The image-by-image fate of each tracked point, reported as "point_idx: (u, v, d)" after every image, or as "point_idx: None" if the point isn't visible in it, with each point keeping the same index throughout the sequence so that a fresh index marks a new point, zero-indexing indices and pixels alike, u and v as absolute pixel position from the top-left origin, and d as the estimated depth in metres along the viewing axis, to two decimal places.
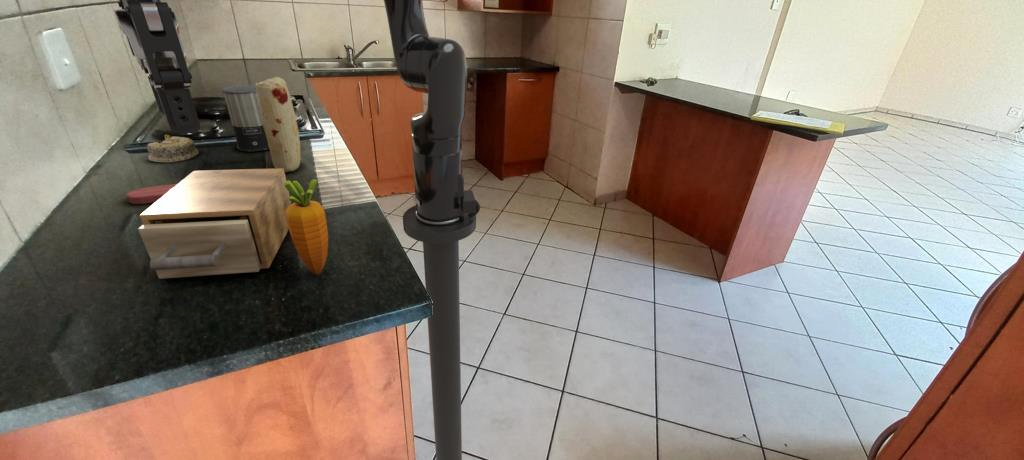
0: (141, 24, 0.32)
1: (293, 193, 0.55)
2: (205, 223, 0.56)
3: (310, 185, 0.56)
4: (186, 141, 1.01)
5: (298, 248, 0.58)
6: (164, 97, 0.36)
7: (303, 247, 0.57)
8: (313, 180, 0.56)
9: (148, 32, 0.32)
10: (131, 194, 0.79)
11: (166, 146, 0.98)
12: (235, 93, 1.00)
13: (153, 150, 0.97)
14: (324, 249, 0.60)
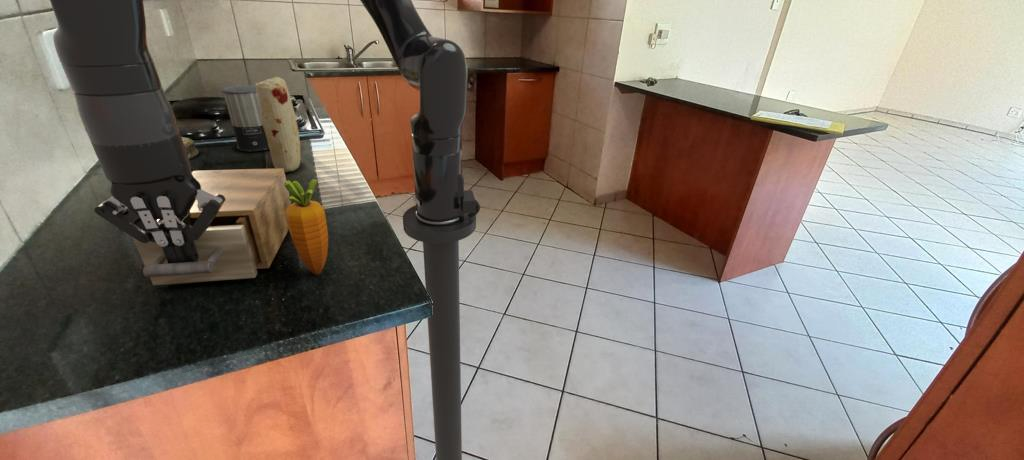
0: (214, 214, 0.51)
1: (293, 193, 0.55)
2: None
3: (309, 185, 0.56)
4: (186, 141, 1.01)
5: (298, 248, 0.58)
6: (182, 248, 0.52)
7: (303, 247, 0.57)
8: (313, 180, 0.56)
9: (213, 216, 0.51)
10: None
11: None
12: (235, 93, 1.00)
13: None
14: (324, 249, 0.60)
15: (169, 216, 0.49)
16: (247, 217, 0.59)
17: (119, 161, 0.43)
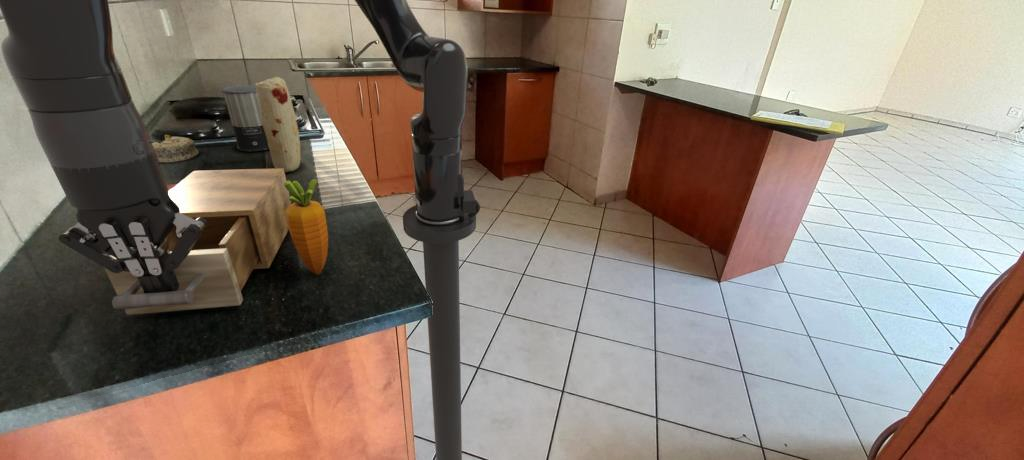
0: (195, 240, 0.46)
1: (293, 193, 0.55)
2: None
3: (309, 185, 0.56)
4: (186, 141, 1.01)
5: (298, 248, 0.58)
6: (160, 278, 0.47)
7: (303, 247, 0.57)
8: (313, 180, 0.56)
9: (193, 242, 0.46)
10: None
11: (166, 146, 0.98)
12: (235, 93, 1.00)
13: None
14: (324, 249, 0.60)
15: (144, 244, 0.44)
16: (231, 238, 0.54)
17: (83, 185, 0.38)
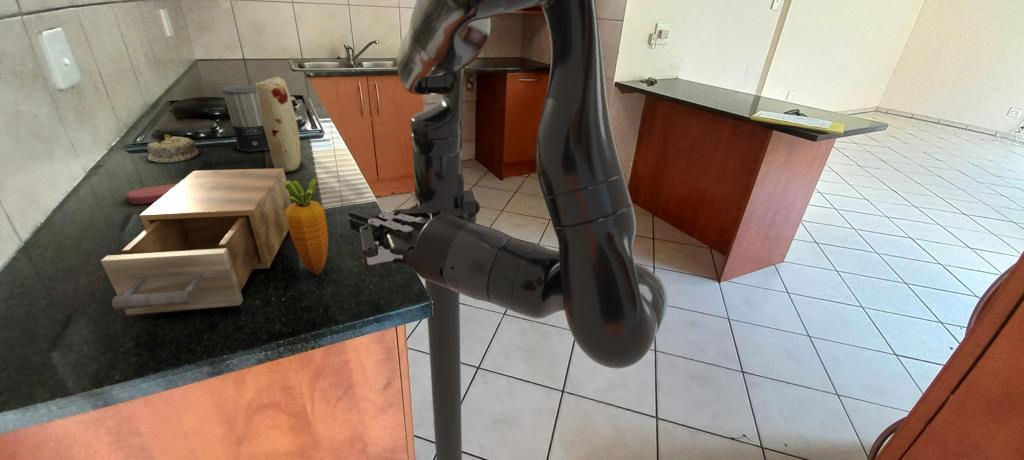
0: None
1: (293, 193, 0.55)
2: (178, 253, 0.50)
3: (309, 185, 0.56)
4: (186, 141, 1.01)
5: (298, 248, 0.58)
6: None
7: (303, 247, 0.57)
8: (313, 180, 0.56)
9: None
10: (131, 194, 0.79)
11: (166, 146, 0.98)
12: (235, 93, 1.00)
13: (153, 150, 0.97)
14: (324, 249, 0.60)
15: None
16: (231, 239, 0.54)
17: None
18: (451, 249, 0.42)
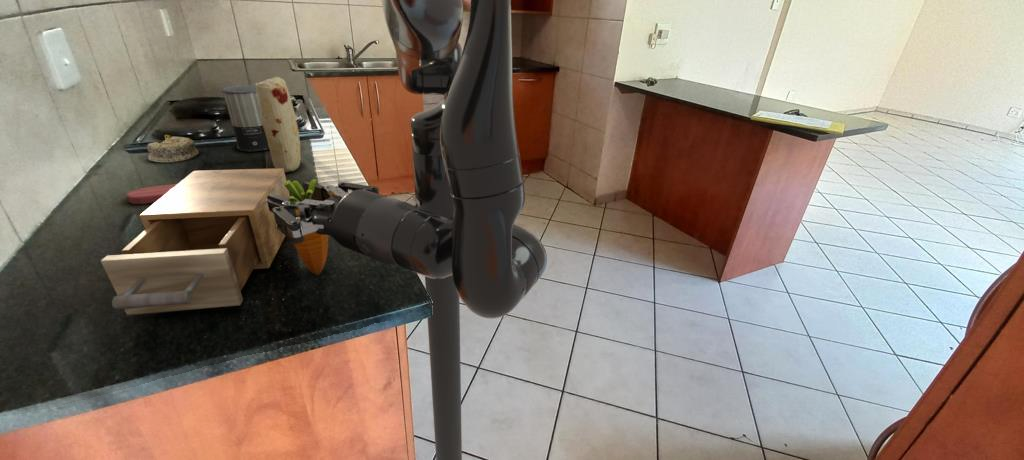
0: None
1: (294, 193, 0.55)
2: (178, 253, 0.50)
3: (310, 185, 0.56)
4: (186, 141, 1.01)
5: (298, 248, 0.58)
6: None
7: (303, 246, 0.57)
8: (313, 180, 0.56)
9: None
10: (131, 194, 0.79)
11: (166, 146, 0.98)
12: (235, 93, 1.00)
13: (153, 150, 0.97)
14: (324, 249, 0.60)
15: None
16: (231, 239, 0.54)
17: None
18: (362, 218, 0.47)
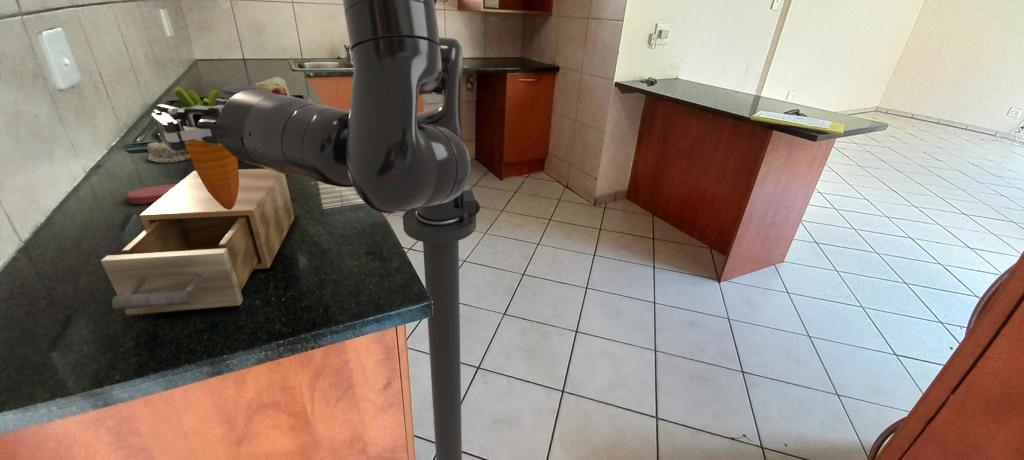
0: None
1: (188, 103, 0.47)
2: (178, 253, 0.50)
3: (209, 96, 0.48)
4: None
5: (199, 173, 0.49)
6: None
7: (204, 170, 0.49)
8: (213, 90, 0.48)
9: None
10: (131, 194, 0.79)
11: (166, 146, 0.98)
12: (235, 93, 1.00)
13: (153, 150, 0.97)
14: (234, 176, 0.51)
15: None
16: (231, 239, 0.54)
17: None
18: (249, 114, 0.39)
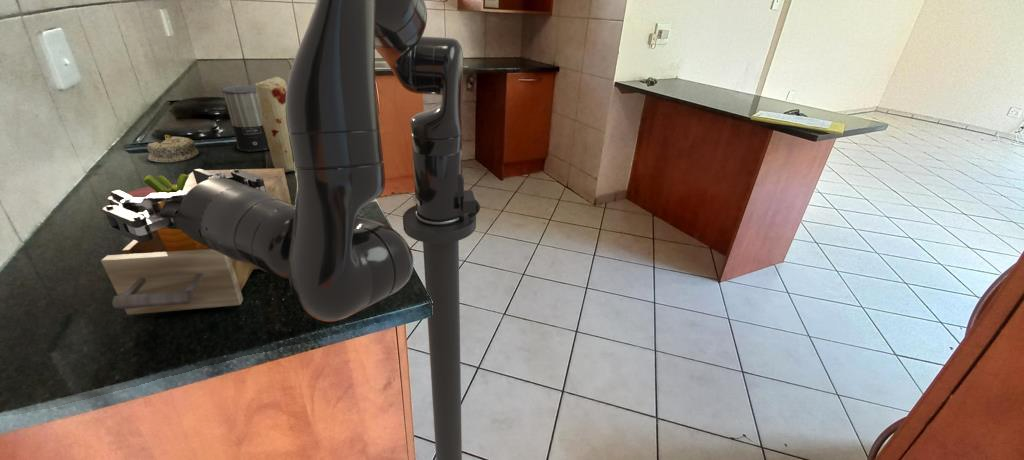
0: None
1: (157, 189, 0.50)
2: (178, 253, 0.50)
3: (178, 181, 0.51)
4: (186, 141, 1.01)
5: (169, 250, 0.52)
6: None
7: (174, 249, 0.52)
8: (182, 175, 0.51)
9: None
10: (131, 194, 0.79)
11: (166, 146, 0.98)
12: (235, 93, 1.00)
13: (153, 150, 0.97)
14: None
15: None
16: None
17: None
18: (206, 210, 0.41)
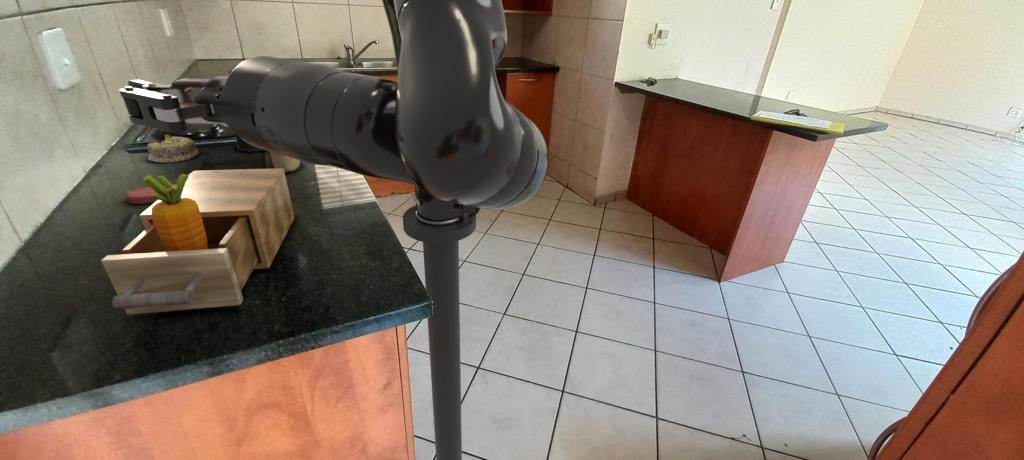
0: None
1: (157, 189, 0.50)
2: (178, 253, 0.50)
3: (178, 180, 0.51)
4: (186, 141, 1.01)
5: (169, 250, 0.52)
6: None
7: (174, 249, 0.52)
8: (182, 175, 0.51)
9: None
10: (131, 194, 0.79)
11: (166, 146, 0.98)
12: None
13: (153, 150, 0.97)
14: None
15: None
16: (232, 238, 0.54)
17: None
18: (262, 84, 0.30)
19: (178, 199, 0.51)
